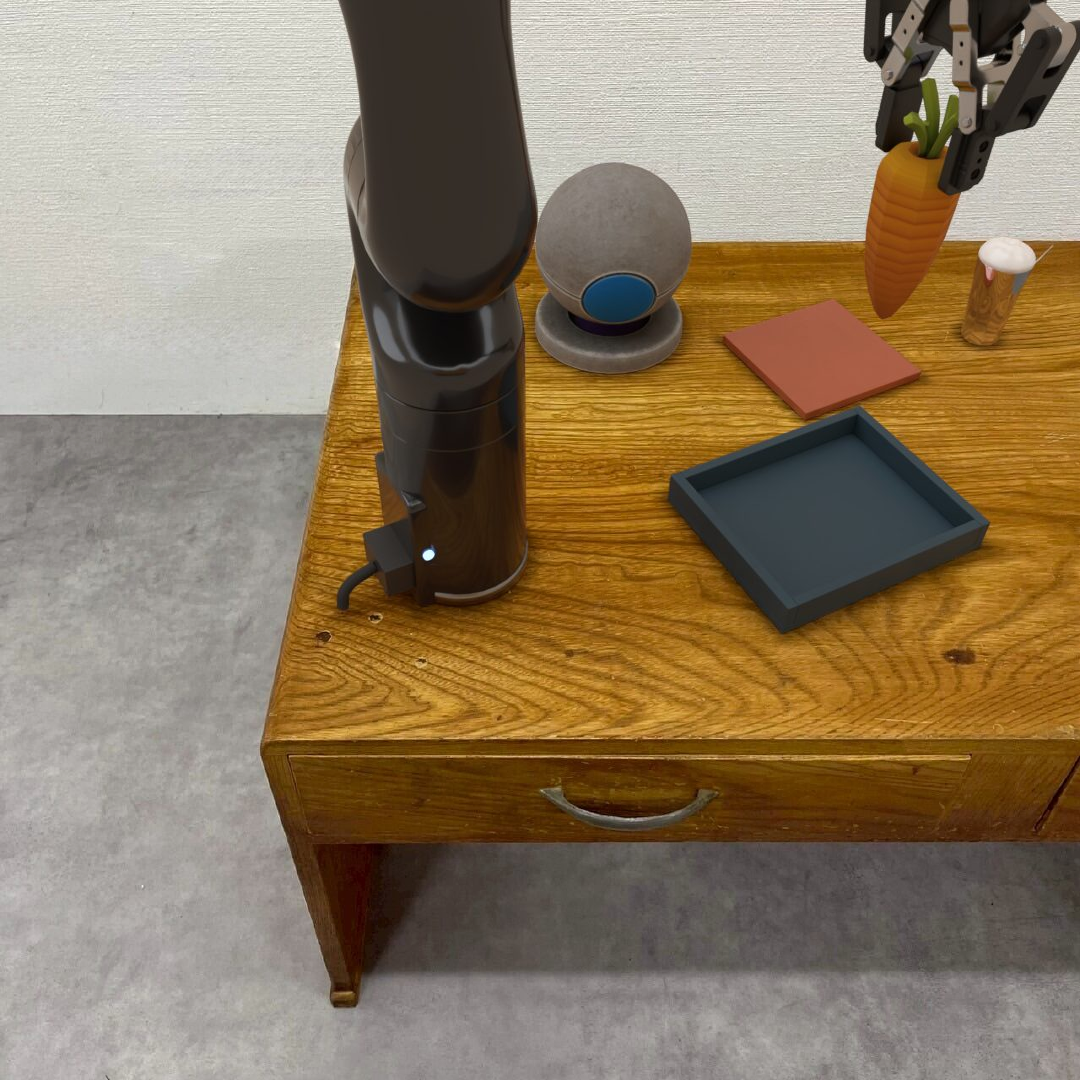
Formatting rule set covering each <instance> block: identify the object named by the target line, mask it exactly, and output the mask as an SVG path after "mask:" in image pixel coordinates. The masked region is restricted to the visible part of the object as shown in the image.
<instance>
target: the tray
mask: <svg viewBox="0 0 1080 1080" xmlns="http://www.w3.org/2000/svg"><path fill="white" fill-rule="evenodd" d="M669 478H670V479H669V486H668V492H667V493H668V494H667V501H668V502H669V504H670V505H671V506H672V507H673V508H674V509H675V510H676V512H677V513H678V514H679V515H680V517H682V518H683V520H684V521H685V522H686V524H688V526H689V527H690V528H691V529H692V531H693V532H694V533H695V534H696V535H697V536H698V537H699V539H700V540H701V541H702V542H703V543H704V544H705V546H706V547H707V548H708V549H709V550H710V552H711V553H712V554H713V555H714V556H715V557H716V558H717V559H718V561H719V562H720V563H721V564H722V566H723V567H724V568H725V569H726V570H727V571H728V572H729V574H730V576H732V577H733V578H734V580H735V581H736V582H737V583H738V584H739V585H740V586H741V588H742V589H743V590H744V592H746V594H747V595H748V596H749V597H750V599H751V600H753V602H754V603H755V604H756V605H757V606H758V608H759V609H760V610H761V611H762V612H763V613H764V614H765V616H766V617H767V618H768V619H769V620H770V622H771V623H772V624H773V625H774V627H776V629H777V630H778V631H779V632H780V633H781V634H782V635H784V634H785V633H788V632H790V631H793V630H795V629H798V628H799V627H802V626H804V625H807V624H809V623H811V622H813V621H815V620H818V619H820V618H822V617H825V616H827V615H830V614H831V613H833V612H836V611H838V610H840V609H842V608H845V607H848V606H850V605H852V604H854V603H857V602H859V601H861V600H863V599H865V598H868V597H869V596H870V597H871V596H873V595H875V594H877V593H879V592H882V591H883V590H886V589H889V588H891V587H894V586H896V585H898V584H899V583H902V582H904V581H906V580H909V579H911V578H914V577H916V576H918V575H919V574H920V575H921V574H922V573H925V572H927V571H929V570H932V569H934V568H936V567H938V566H941V565H943V564H945V563H947V562H950V561H952V560H954V559H957V558H959V557H961V556H963V555H965V554H968V553H970V552H972V551H975V550H978V549H980V548H981V547H982V544H983V542H984V539H985V537H986V535H987V532H988V530H989V527H990V525H991V521H990V520H989V519H988V518H986V517H985V516H984V515H983V514H982V513H981V512H980V511H979V510H977V509H976V508H975V506H973V505H972V504H971V503H970V502H969V501H967V499H965V498H964V497H963V496H962V495H961V494H959V492H957V491H956V489H954V488H953V487H952V486H951V485H950V484H948V483H947V482H946V481H945V480H944V479H943V478H941V476H939V475H938V474H937V473H936V472H935V471H934V470H933V469H932V468H930V466H929V465H928V464H926V463H925V462H924V461H923V460H922V459H920V457H918V455H916V454H915V453H914V452H913V451H912V450H910V449H909V448H908V447H907V446H906V445H905V444H903V442H901V441H900V440H899V438H897V437H896V436H895V435H894V434H893V433H891V432H890V430H888V429H887V428H886V427H885V426H884V425H882V424H881V423H880V422H879V421H878V420H877V419H876V418H875V417H874V416H872V415H871V414H870V413H869V412H868V411H867V410H866V409H865V408H863V406H862V405H858V406H857V405H856V406H855V407H852V408H848V409H846V410H844V411H841V412H838V413H836V414H833V415H830V416H827V417H824V418H821V419H819V420H816V421H814V422H811V423H809V424H805V425H803V426H800V427H798V428H795V429H792V430H789V431H787V432H784V433H782V434H779V435H776V436H773V437H770V438H768V439H765V440H762V441H760V442H757V443H754V444H752V445H751V444H750V445H749V446H745V447H743V448H740V449H737V450H735V451H732V452H730V453H727V454H724V455H721V456H718V457H716V458H713V459H711V460H708V461H705V462H703V463H699V464H696V465H694V466H692V467H689V468H687V469H683V470H681V471H678V472H674V473H672V474H670V476H669Z"/></svg>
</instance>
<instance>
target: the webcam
mask: <svg viewBox="0 0 1080 1080" xmlns="http://www.w3.org/2000/svg"><path fill="white" fill-rule="evenodd" d="M692 238H693V237H692V231H691V223H690V219H689V217H688V213H687V211H686V208H685V205H684V204H683V202H682V201H681V199H680V197H679V196H678V194H677V193H676V192H675V190H674V189H673V188H672V187H671V186H670V185H669V184H668V183H667V182H666V181H665V180H663V179H662V177H659V176H658V175H656V174H655V173H654V172H652V171H650V170H648V169H646V168H643V167H641V166H636V165H634V164H629V163H624V162H603V163H598V164H594V165H591V166H587V167H585V168H584V169H581V170H579V171H578V172H576V173H574V174H572V175H571V176H569V177H568V178H566V180H564V181H563V182H561V184H560V185H559V186H558V187H556V189H555V190H554V191H553V193H552V194H551V195H550V197H549V198H548V199H547V201H546V202H545V205H544V207H543V208H542V210H541V213H540V216H539V218H538V224H537V230H536V236H535V242H534V248H535V250H534V251H535V258H536V259H535V260H536V264H537V267H538V271H539V275H540V276H541V279H542V281H543V283H544V285H545V286H546V288H547V289H548V291H547V292H545V294H544V295H543V296H542V297H541V299H540V301H539V302H538V305H537V308H536V310H535V315H534V316H535V317H534V333H535V336H536V339H537V341H538V343H539V344H540V346H541V347H542V349H543V350H545V352H546V353H547V354H549V356H551V357H552V358H554V359H556V361H559V362H560V363H562V364H564V365H566V366H569V367H571V368H575V369H578V370H581V371H586V372H590V373H597V374H608V375H609V374H611V375H612V374H626V373H633V372H638V371H643V370H646V369H648V368H651V367H653V366H655V365H657V364H660V363H661V362H663V361H664V360H666V359H668V358H669V357H670V356H672V354H673V353H674V352H675V350H676V349H677V348H678V347H679V345H680V342H681V340H682V335H683V323H684V322H683V313H682V311H681V308H680V305H679V303H678V302H677V301H676V299H675V298H674V295H675V293H676V292H677V290H678V289H679V287H680V285H682V282H683V281H684V278H685V276H686V274H687V272H688V269H689V266H690V262H691V258H692V250H693V242H692V241H693V239H692Z"/></svg>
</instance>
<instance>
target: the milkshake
mask: <svg viewBox="0 0 1080 1080" xmlns="http://www.w3.org/2000/svg"><path fill="white" fill-rule="evenodd" d="M1052 248H1054V244H1052V245H1051V246H1050V247H1049V248H1047V250H1046V251H1045V252H1044V253H1042V254H1041V255H1040V257H1038V259H1037V257H1036V254H1035V253H1036V252H1034V250H1033V249H1032V247H1030V246H1029V245H1028V244H1027V243H1025V242H1023V241H1022V240H1020V239H1018V238H1012V237H1008V236H997V237H993V238H991V239H988V240H987V241H986V242H984V243H983V244H982V245H981V246H980V248H979V250H978V253H977V258H976V263H975V268H974V273H973V278H972V283H971V287H970V290H969V295H968V298H967V303H966V306H965V311H964V315H963V319H962V324H961V326H960V333H961V334H960V336H961V337H962V338H963V339H964V340H965V341H967V342H968V343H970V344H972V345H977V346H979V347H984V346H987V347H988V346H992V345H994V344H995V343H997V342H998V341H999V339H1000V338H1001V335H1002V334H1003V331H1004V329H1005V327H1006V325H1007V323H1008V320H1009V318H1010V316H1011V314H1012V312H1013V309H1014V308H1015V306H1016V303H1017V301H1018V299H1019V297H1020V295H1021V293H1022V290H1023V289H1024V286H1025V285H1026V283H1027V281H1028V279H1029V278H1030V275H1031V273H1032V271H1033V269H1034V268H1035V265H1036V264H1037V263H1038V262H1039V261H1040V260H1041V259H1042V258H1043V257H1044V256H1045V255H1046V254H1047V253H1048V252H1049V251H1050V250H1051V249H1052Z"/></svg>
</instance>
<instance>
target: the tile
mask: <svg viewBox="0 0 1080 1080" xmlns="http://www.w3.org/2000/svg"><path fill="white" fill-rule="evenodd" d="M721 342H722V343H723V344H724V345H725V346H726V347H727V348H728V349H729V350H730V351H731V352H732V353H733V354H734V355H735V356H737V357H738V359H740V361H742V362H743V363H744V364H745V365H746V366H747V367H748V368H749V369H750V370H751V371H752V372H753V373H754V374H755V375H756V376H757V377H759V379H760V380H762V381H763V382H764V383H765V384H766V385H767V386H768V387H769V388H770V389H771V390H772V391H773V392H775V394H776V395H777V396H778V397H780V399H781V400H783V402H785V403H786V405H788V406H789V407H790V408H791V409H792V410H793V411H794V412H795V413H796V414H797V415H798V416H799V417H800V418H802V420H804V421H807V420H811V419H812V418H815V417H818V416H821V415H824V414H827V413H830V412H833V411H834V410H837V409H840V408H843V407H846V406H848V405H851V404H853V403H856V402H859V401H861V400H864V399H867V398H870V397H873V396H875V395H878V394H881V393H883V392H886V391H889V390H892V389H895V388H897V387H900V386H902V385H906V384H908V383H911V382H913V381H917V380H919V379H920V377H921V375H922V370H921V369H920V368H918V367H917V366H916V365H915V364H913V363H912V362H911V361H910V360H909V359H907V358H906V357H905V356H903V354H902V353H900V352H899V351H897V350H896V348H894V347H893V346H891V344H889V343H888V342H887V341H885V340H884V339H883V338H882V337H881V336H879V335H878V333H876V332H874V331H873V330H872V329H871V328H870V327H869V326H868V325H866V324H865V323H864V322H862V321H861V320H860V319H859V318H857V317H856V316H855V315H854V314H853V313H851V311H849V310H848V309H847V308H846V307H844V306H843V305H842V304H841V303H839V302H838V301H837V300H835V298H830V299H827V300H824V301H822V302H818V303H816V304H813V305H809V306H805V307H803V308H800V309H797V310H793V311H791V312H788V313H785V314H782V315H779V316H775V317H773V318H772V317H771V318H769V319H766V320H764V321H760V322H757V323H754V324H751V325H747V326H745V327H742V328H739V329H736V330H732V331H730V332H726V333H724V334H722V339H721Z"/></svg>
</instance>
